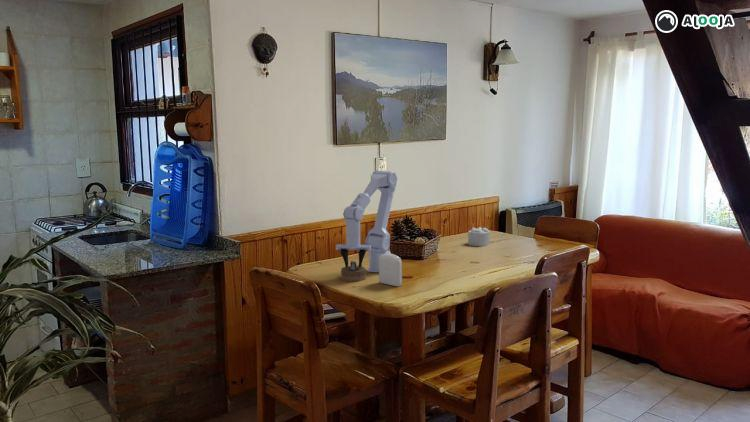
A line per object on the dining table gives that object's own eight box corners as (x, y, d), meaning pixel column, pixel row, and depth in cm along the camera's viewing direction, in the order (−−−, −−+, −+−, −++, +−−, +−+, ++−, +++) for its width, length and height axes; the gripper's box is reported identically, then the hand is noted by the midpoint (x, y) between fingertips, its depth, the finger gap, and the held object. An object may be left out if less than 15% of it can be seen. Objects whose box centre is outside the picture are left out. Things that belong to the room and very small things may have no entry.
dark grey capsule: (356, 277, 245) (356, 261, 244) (356, 279, 243) (355, 262, 242) (351, 277, 245) (350, 261, 244) (350, 278, 243) (350, 262, 242)
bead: (367, 275, 248) (367, 266, 247) (362, 281, 238) (362, 272, 237) (344, 274, 250) (344, 265, 249) (339, 280, 240) (338, 271, 239)
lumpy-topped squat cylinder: (465, 244, 313) (466, 228, 312) (476, 240, 323) (476, 225, 322) (483, 247, 307) (484, 230, 306) (493, 243, 317) (494, 227, 316)
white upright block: (377, 282, 237) (377, 252, 235) (384, 280, 240) (384, 251, 238) (396, 287, 230) (396, 256, 228) (403, 285, 233) (403, 255, 231)
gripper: (333, 236, 239) (334, 268, 240) (368, 237, 236) (368, 270, 238) (338, 233, 245) (338, 264, 247) (371, 234, 243) (371, 266, 245)
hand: (353, 267), depth 243 cm, fingers open, 5 cm apart
